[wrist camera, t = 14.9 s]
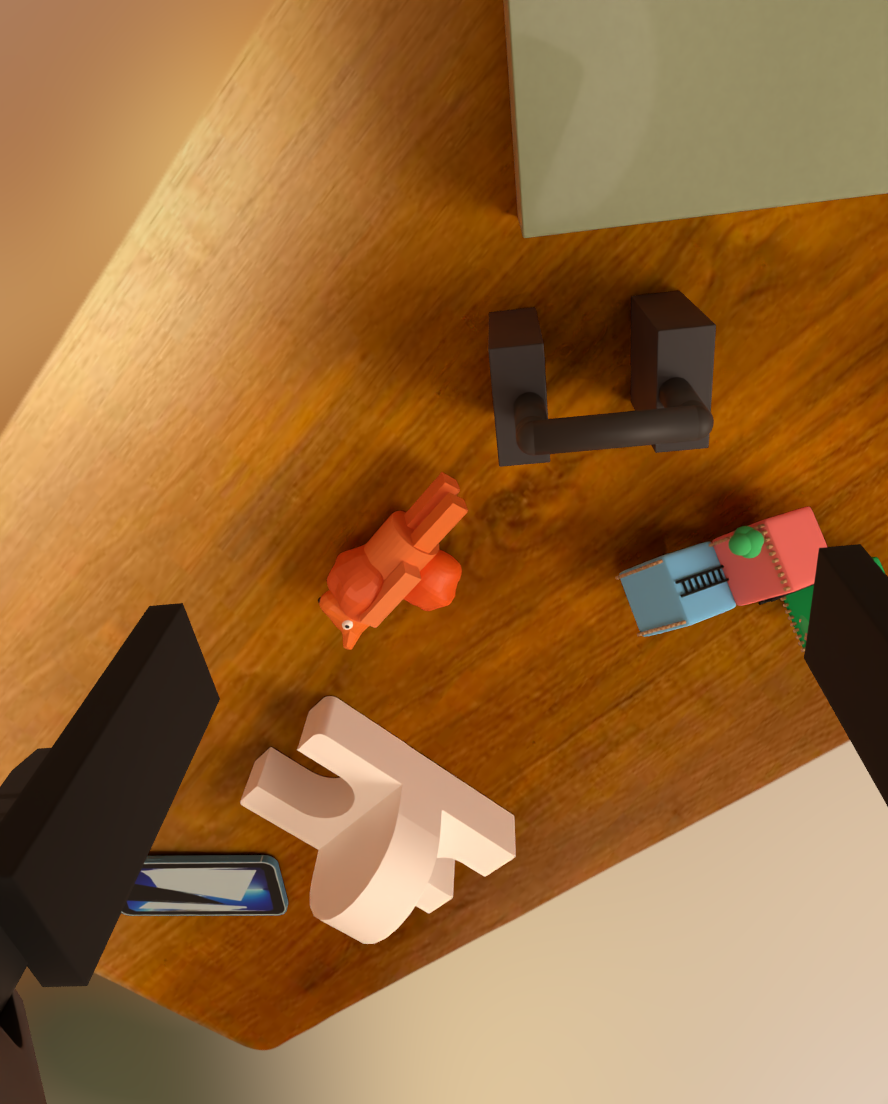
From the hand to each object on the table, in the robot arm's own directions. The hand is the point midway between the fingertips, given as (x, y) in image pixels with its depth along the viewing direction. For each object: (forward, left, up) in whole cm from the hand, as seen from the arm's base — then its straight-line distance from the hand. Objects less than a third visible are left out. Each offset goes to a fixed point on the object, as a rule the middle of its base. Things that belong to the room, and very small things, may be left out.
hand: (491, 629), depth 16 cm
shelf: (-11, +11, -27) cm, 31 cm away
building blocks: (+16, +14, -27) cm, 34 cm away
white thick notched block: (+34, -11, -27) cm, 45 cm away
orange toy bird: (+13, -6, -27) cm, 30 cm away
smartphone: (+44, -29, -27) cm, 59 cm away
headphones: (+2, +5, -27) cm, 27 cm away
